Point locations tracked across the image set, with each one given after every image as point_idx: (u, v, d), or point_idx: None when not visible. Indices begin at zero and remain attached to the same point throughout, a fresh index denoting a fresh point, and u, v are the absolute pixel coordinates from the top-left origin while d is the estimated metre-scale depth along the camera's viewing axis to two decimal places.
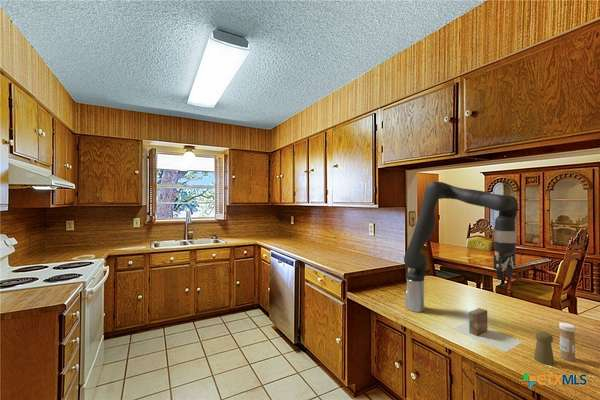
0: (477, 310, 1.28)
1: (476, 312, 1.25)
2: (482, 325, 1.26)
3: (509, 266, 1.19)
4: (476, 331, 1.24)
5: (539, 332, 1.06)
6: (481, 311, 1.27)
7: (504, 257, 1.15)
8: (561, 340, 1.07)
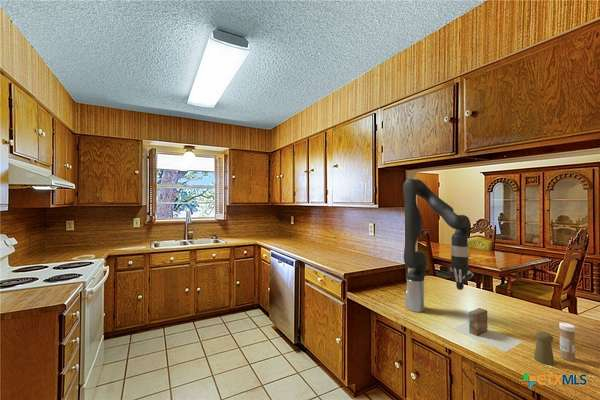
0: (477, 310, 1.28)
1: (476, 312, 1.25)
2: (482, 325, 1.26)
3: None
4: (476, 331, 1.24)
5: (539, 332, 1.06)
6: (481, 311, 1.27)
7: None
8: (561, 340, 1.07)
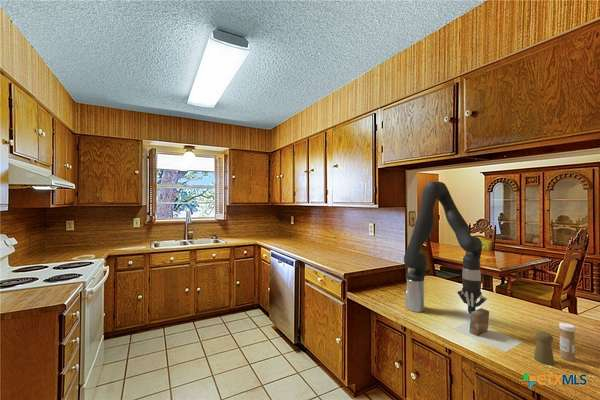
0: (479, 310, 1.27)
1: (478, 313, 1.25)
2: (483, 325, 1.25)
3: None
4: (476, 331, 1.24)
5: (539, 332, 1.06)
6: (483, 312, 1.26)
7: None
8: (561, 340, 1.07)
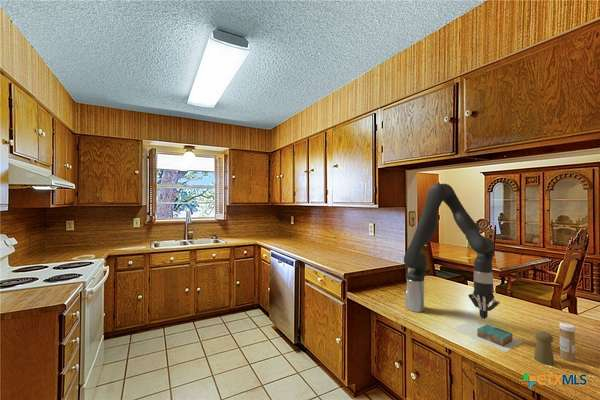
0: (508, 338, 1.17)
1: (504, 342, 1.16)
2: None
3: (482, 308, 1.26)
4: (482, 337, 1.22)
5: (539, 332, 1.06)
6: (508, 341, 1.17)
7: None
8: (561, 340, 1.07)
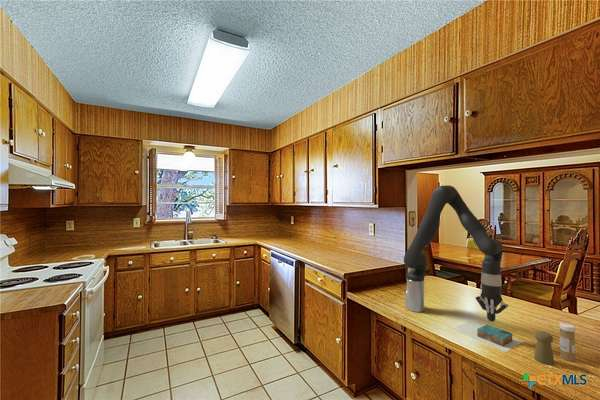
0: (508, 338, 1.17)
1: (504, 342, 1.16)
2: None
3: (490, 310, 1.23)
4: (482, 337, 1.22)
5: (539, 332, 1.06)
6: (508, 341, 1.17)
7: None
8: (561, 340, 1.07)
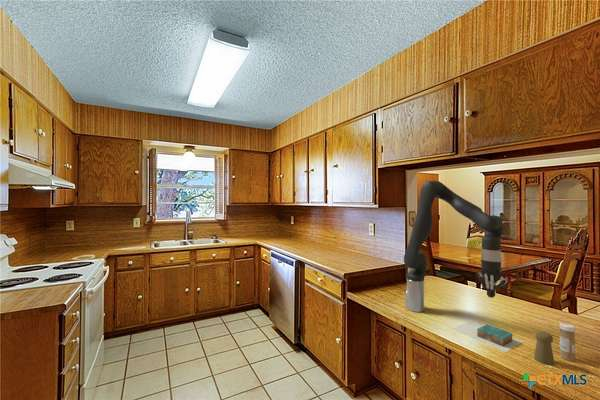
0: (508, 338, 1.17)
1: (504, 342, 1.16)
2: None
3: None
4: (482, 337, 1.22)
5: (539, 332, 1.06)
6: (508, 341, 1.17)
7: None
8: (561, 340, 1.07)
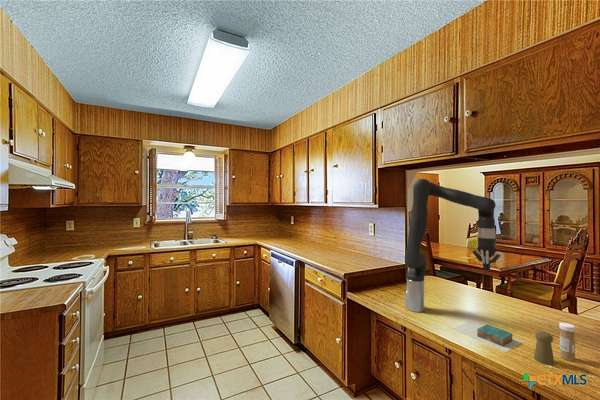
0: (508, 338, 1.17)
1: (504, 342, 1.16)
2: None
3: None
4: (482, 337, 1.22)
5: (539, 332, 1.06)
6: (508, 341, 1.17)
7: None
8: (561, 340, 1.07)
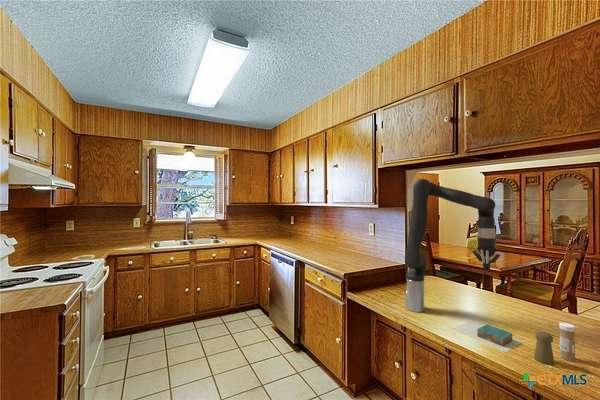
0: (508, 338, 1.17)
1: (504, 342, 1.16)
2: None
3: None
4: (482, 337, 1.22)
5: (539, 332, 1.06)
6: (508, 341, 1.17)
7: None
8: (561, 340, 1.07)
